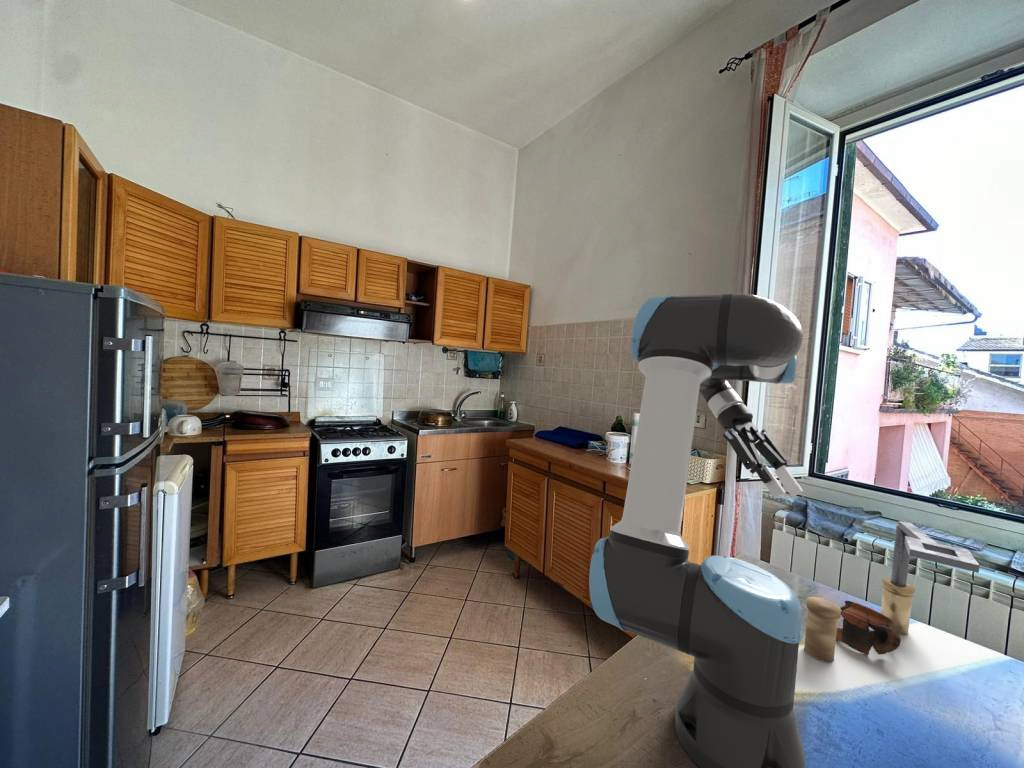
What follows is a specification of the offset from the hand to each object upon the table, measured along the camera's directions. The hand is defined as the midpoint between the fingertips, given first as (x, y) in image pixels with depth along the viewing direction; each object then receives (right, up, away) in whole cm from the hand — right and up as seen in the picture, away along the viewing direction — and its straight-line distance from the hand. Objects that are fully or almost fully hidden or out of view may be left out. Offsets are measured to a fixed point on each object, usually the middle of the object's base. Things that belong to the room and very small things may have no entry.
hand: (788, 494), depth 93 cm
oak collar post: (-5, -25, -16) cm, 30 cm away
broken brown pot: (+6, -26, -13) cm, 29 cm away
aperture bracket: (+14, -26, -15) cm, 33 cm away
